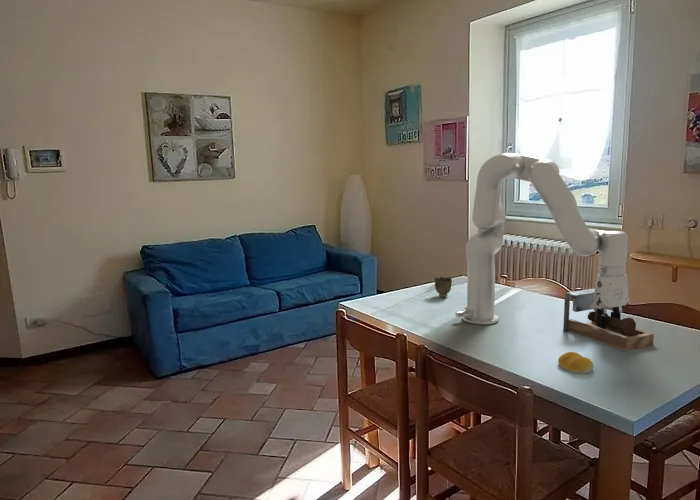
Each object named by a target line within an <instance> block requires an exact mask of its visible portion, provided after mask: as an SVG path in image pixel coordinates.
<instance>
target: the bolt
mask: <svg viewBox="0 0 700 500" xmlns="http://www.w3.org/2000/svg"><path fill="white" fill-rule="evenodd" d="M605 316H606V317H607V324H606V326H609V327H613V328H616V329H619V330H620V331H621V334H622V335H624V336H629V335H632V334H633V333H634V331H635V329H636V328H637V324H636V321H635V319H634V318H632V317H625V318H622V319H621V318H620V319H618V318H614V317H611V315H609V314H608V313H607V312H606V315H605ZM587 319H588V320H589V321H590V322H591V321H593V322H595V323H596V325H597V314H596V312H595V311H590V312H588V314H587Z"/></svg>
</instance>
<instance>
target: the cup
mask: <svg viewBox="0 0 700 500" xmlns="http://www.w3.org/2000/svg"><path fill="white" fill-rule="evenodd" d="M433 280H434V281H433V282H434V288H435V289H434V290H435V291H436V293H438V296H439V298H447V297H448V294H449V293H450V292H451V290H452V282H453V278H451V277H450V276H448V277H447V276H445V277H444V276H438V277H436V276H435V277H434V279H433Z"/></svg>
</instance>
